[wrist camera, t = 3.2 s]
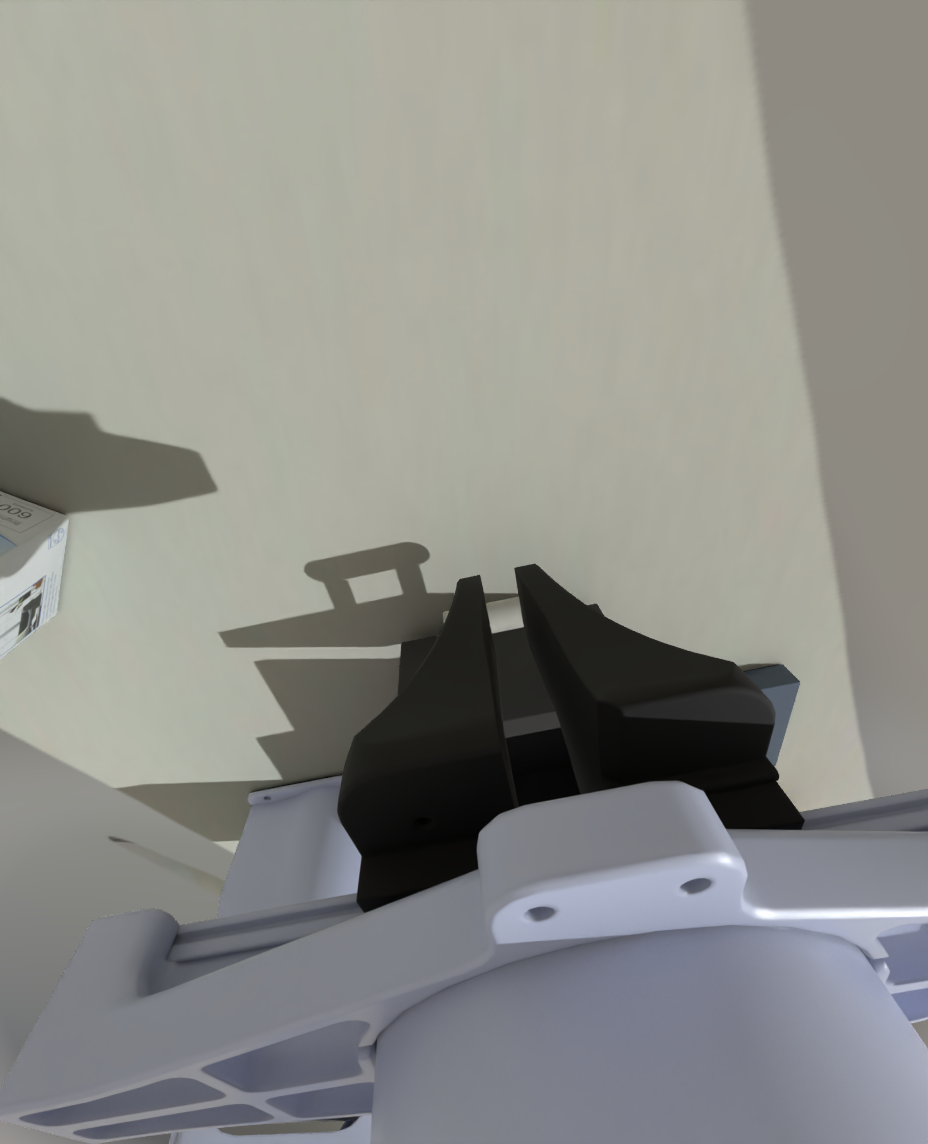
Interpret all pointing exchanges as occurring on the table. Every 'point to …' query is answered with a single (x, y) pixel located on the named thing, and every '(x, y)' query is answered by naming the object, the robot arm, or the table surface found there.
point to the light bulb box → (28, 568)
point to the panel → (777, 700)
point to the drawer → (517, 707)
